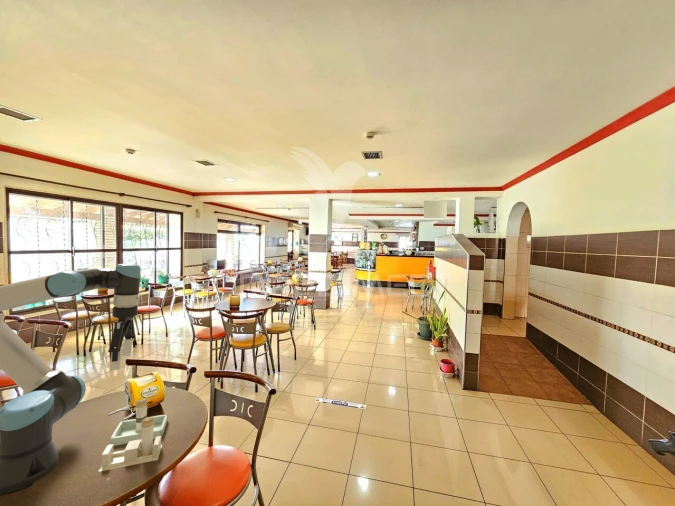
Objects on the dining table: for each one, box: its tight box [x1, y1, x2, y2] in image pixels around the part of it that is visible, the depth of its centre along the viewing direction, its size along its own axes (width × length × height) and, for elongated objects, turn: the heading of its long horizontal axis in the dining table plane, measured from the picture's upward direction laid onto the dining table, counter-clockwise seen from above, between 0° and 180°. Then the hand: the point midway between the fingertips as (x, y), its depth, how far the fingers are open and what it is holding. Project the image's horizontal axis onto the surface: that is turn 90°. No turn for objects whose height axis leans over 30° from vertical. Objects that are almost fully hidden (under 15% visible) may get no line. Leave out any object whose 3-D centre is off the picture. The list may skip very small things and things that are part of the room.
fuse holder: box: [98, 436, 163, 472], centre depth 96 cm, size 16×8×5 cm, turn 111°
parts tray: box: [109, 413, 169, 447], centre depth 109 cm, size 16×11×4 cm
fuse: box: [140, 416, 154, 457], centre depth 98 cm, size 4×4×12 cm
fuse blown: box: [135, 398, 148, 433], centre depth 109 cm, size 4×4×12 cm
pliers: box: [108, 405, 136, 421], centre depth 126 cm, size 10×2×15 cm
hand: (121, 362), depth 106 cm, fingers open, 13 cm apart
